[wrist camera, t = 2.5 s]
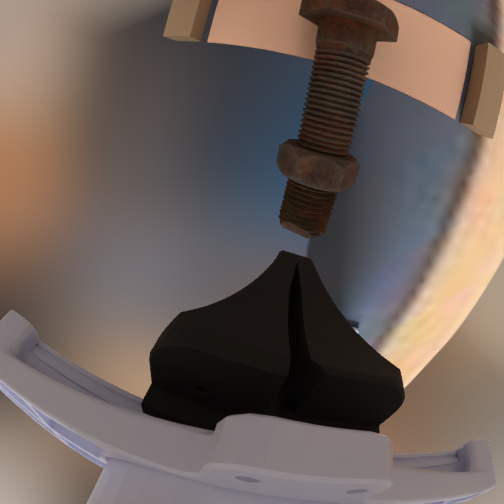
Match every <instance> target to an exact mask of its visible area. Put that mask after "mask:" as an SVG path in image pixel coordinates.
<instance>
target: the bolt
mask: <svg viewBox="0 0 504 504" xmlns="http://www.w3.org/2000/svg"><path fill="white" fill-rule="evenodd" d="M299 15H300V16H302V17H303V18H305V19H307V20H308V21H310V22H312V23H313V24H315V25H317V26H318V30H317V36H316V41H315V42H316V49H317V50H315V53H316V54H317V55H315V56H314V58H315V59H316V60H314V61H313V63H314V64H315V65H313V66H312V68H313V69H314V71H311V73H312V74H313V76H311V77H310V79H311V80H312V82H309V83H308V84H309V85H310V86H311V87H308V88H307V89H308V90H309V91H310V92H308V93H306V94H307V95H308V96H309V97H307V98H305V99H306V100H307V101H308V102H307V103H304V104H305V106H306V107H307V108H303V110H304V111H305V112H306V113H304V114H302V116H303V117H304V118H303V119H301V121H302V122H303V124H301V125H300V126H301V128H302V129H301V130H299V132H300V133H301V134H299V135H298V138H299V139H289V140H287V141H286V142H284V143H283V144H281V145H280V146H279V151H278V156H277V161H276V162H277V165H278V167H279V169H280V171H281V172H282V174H283V175H285V176H286V177H287V178H288V179H289V181H287V186H286V190H285V195H284V200H283V201H282V206H281V208H282V209H281V210H280V215H279V218H280V223H281V225H282V226H283V227H284V228H286V229H288V230H290V231H292V232H294V233H297V234H299V235H301V236H303V237H305V238H314V237H317V236H320V235H321V234H323V233H325V230H326V227H327V223H328V220H329V216H330V214H331V210H332V206H333V205H334V200H335V199H336V198H335V196H336V195H337V192H344V191H346V190H347V189H349V188H350V187H351V186H352V185H353V184H354V183H355V181H356V177H357V174H358V171H359V167H360V166H359V164H358V163H357V161H356V159H355V158H354V157H353V156H351V155H349V152H348V151H347V150H348V149H350V146H349V145H348V144H351V143H352V142H351V140H350V139H351V138H353V136H352V135H351V134H352V133H354V130H353V129H352V128H355V127H356V126H355V124H354V123H355V122H357V120H356V119H355V117H358V116H359V115H358V114H357V113H356V112H359V111H360V110H359V109H358V108H357V107H359V106H361V104H360V103H359V102H360V101H362V99H361V98H360V96H363V93H362V92H361V91H364V90H365V89H364V88H363V87H362V86H364V85H366V83H365V82H364V81H365V80H367V77H365V76H366V75H368V74H369V73H368V72H367V70H369V69H370V68H369V67H368V65H370V64H371V60H372V58H373V57H374V53H375V48H376V43H377V42H397V38H398V32H399V25H398V21H397V18H396V16H395V14H394V12H393V11H392V10H391V9H389V8H388V7H386V6H385V5H384V4H382V3H381V2H379V1H377V0H302V1H301V6H300V10H299Z"/></svg>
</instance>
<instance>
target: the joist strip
mask: <svg viewBox="0 0 504 504" xmlns="http://www.w3.org/2000/svg"><path fill="white" fill-rule="evenodd" d="M212 1H213V0H173V2H172V6H171V9H170V12H169V16H168V19H167V23H166V27H165V31H164V34H163V36H165V37H168V38H171V39H173V40H176V41H196V42H201V40H202V37H203V33H204V29H205V25H206V21H207V18H208V14H209V11H210V8H211V4H212ZM301 1H302V0H219V1H218V5H217V8H216V12H215V15H214V18H213V22H212V26H211V29H210V33H209V37H208V41H207V42H211V43H222V44H231V45H239V46H246V47H252V48H259V49H265V50H270V51H275V52H280V53H285V54H289V55H294V56H298V57H302V58H306V59H310V60H316V59H315V58H314V56H315V55H317V54H316V53H315V50H317V49H316V42H315V41H316V36H317V30H318V26H317V25H315V24H313V23H312V22H310V21H308V20H307V19H305V18H303V17H302V16H300V15H299V10H300V6H301ZM377 1H379V2H381V3H382V4H384V5H385V6H386V7H388V8H389V9H391V10H392V11H393V12H394V14H395V16H396V18H397V21H398V25H399V32H398V38H397V42H377V43H376V48H375V53H374V57H373V58H372V60H371V64H370V65H368V67H369V68H370V69H369V70H367V72H368V73H369V74H368V75H366V76H365V77H367V78H369V79H372V80H374V81H377V82H379V83H382V84H384V85H387V86H389V87H392V88H394V89H396V90H398V91H401V92H403V93H405V94H407V95H409V96H411V97H413V98H416V99H418V100H420V101H422V102H424V103H426V104H427V105H429V106H431V107H433V108H435V109H437V110H439V111H441V112H442V113H444V114H446V115H448V116H449V117H451V118H453V119H455V118H456V114H457V110H458V106H459V102H460V98H461V94H462V89H463V85H464V80H465V75H466V70H467V64H468V58H469V52H470V44H471V41H469V40H468V39H466V38H464V37H463V36H461V35H460V34H458V33H456V32H455V31H453V30H452V29H450V28H448V27H446V26H445V25H443V24H441V23H439V22H438V21H436V20H434V19H432V18H430V17H428V16H426V15H424V14H422V13H420V12H418V11H416V10H414V9H412V8H410V7H408V6H405V5H403V4H401V3H398V2H396V1H394V0H377ZM503 91H504V54H503V53H502V52H501V51H500V50H498V49H497V48H496V47H494V46H493V45H492V44H490V43H489V42H487V43H483V44H479V45H475V52H474V58H473V65H472V70H471V76H470V81H469V86H468V90H467V95H466V99H465V103H464V107H463V111H462V115H461V119H460V123H461V124H463V125H464V126H466V127H468V128H469V129H471V130H472V131H474V132H475V133H477V134H478V135H481V136H485V137H488V138H492V139H493V135H494V131H495V128H496V124H497V120H498V115H499V111H500V106H501V102H502V96H503Z"/></svg>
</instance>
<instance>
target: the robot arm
mask: <svg viewBox="0 0 504 504" xmlns="http://www.w3.org/2000/svg"><path fill="white" fill-rule="evenodd" d="M149 362H150V371H151V380H152V384H151V386H150V388H149V390H148V391H147V393H146V395H145V397H144V399H142V398H140V397H137V396H135V395H133V394H131V393H129V392H127V391H125V390H123V389H121V388H119V387H117V386H114V385H113V384H111V383H109V382H107V381H105V380H103V379H101V378H99V377H97V376H95V375H94V374H92V373H90V372H88V371H87V370H85V369H83V368H82V367H80V366H78V365H76V364H75V363H73V362H71V361H70V360H68V359H67V358H65V357H63V356H62V355H60V354H59V353H57V352H56V351H54V350H53V349H51V348H50V347H48V346H47V345H45V344H44V343H42V342H41V341H40V340H39V338H38V335H37V332H36V330H35V329H34V327H33V326H32V325H31V324H30V323H29V322H28V321H27V320H26V319H24V318H23V317H22V316H20V315H19V314H18V313H16V312H15V311H14V310H10V311H9V312H8V313H7V314H6V315H5V316H4V318H3V319H2V320H1V321H0V389H1V391H2V392H3V393H4V394H5V395H7V396H8V397H9V398H10V399H11V400H12V401H13V402H14V403H15V404H16V405H17V406H19V407H20V408H21V409H22V410H23V411H24V412H25V413H27V414H28V415H29V416H30V417H31V418H33V419H34V420H35V421H36V422H37V423H39V424H40V425H41V426H42V427H43V428H45V429H46V430H47V431H49V432H50V433H51V434H53V435H54V436H55V437H57V438H58V439H60V440H61V441H62V442H63V443H65V444H66V445H68V446H69V447H71V448H72V449H74V450H75V451H76V452H78V453H80V454H81V455H83V456H84V457H86V458H87V459H89V460H91V461H92V462H94V463H96V464H97V465H99V466H101V467H102V468H104V469H103V472H102V474H101V476H100V478H99V480H98V482H97V484H96V486H95V488H94V490H93V492H92V494H91V496H90V498H89V500H88V502H87V504H460V503H463V502H465V501H467V500H469V499H472V498H473V497H476V496H478V495H480V494H482V493H484V492H486V491H488V490H490V489H492V488H494V487H495V486H496V479H495V471H494V464H493V458H492V452H491V447H490V442H489V439H488V438H484V439H477V440H473V441H470V442H468V443H466V444H465V445H463V446H461V447H460V448H459V449H458V450H453V451H444V452H433V453H417V454H393V453H392V443H391V441H390V439H389V437H387V436H386V435H382V434H379V425H380V424H381V423H383V422H384V421H385V420H386V419H388V418H389V417H390V416H391V415H392V414H393V413H395V412H396V411H397V410H398V409H399V407H400V406H401V405H402V403H403V401H404V398H405V394H404V387H403V381H402V376H401V372H400V369H399V368H397V367H396V366H395V365H393V364H392V363H391V362H389V361H388V360H387V359H385V358H384V357H383V356H381V355H380V354H379V353H378V352H377V351H376V350H374V349H373V348H372V347H371V346H370V345H369V344H368V343H367V342H366V341H365V340H364V339H363V338H362V337H361V336H360V335H359V331H358V329H357V328H356V327H352V326H351V325H350V324H349V323H348V322H347V320H346V319H345V318H344V316H343V315H342V314H341V312H340V311H339V310H338V308H337V307H336V305H335V304H334V302H333V301H332V299H331V297H330V296H329V294H328V292H327V291H326V289H325V287H324V285H323V283H322V281H321V279H320V277H319V275H318V273H317V271H316V269H315V266H314V264H313V262H312V260H311V259H310V258H306V257H303V256H300V255H296V254H293V253H290V252H286V251H280V252H279V254H278V256H277V258H276V259H275V260H274V262H273V263H272V264H271V265H270V266H269V268H267V270H266V271H265V272H264V273H262V274H261V275H260V276H259V277H258V278H257V279H255V280H254V281H253V282H252V283H250V284H249V285H248V286H246V287H245V288H243V289H242V290H240V291H238V292H236V293H235V294H233V295H231V296H230V297H227V298H225V299H223V300H221V301H218V302H216V303H213V304H211V305H208V306H205V307H201V308H197V309H194V310H189V311H185V312H181V313H180V314H178V315H177V317H175V319H174V320H173V321H172V322H171V323H170V324H169V325H168V326H167V327H166V329H165V330H164V331H163V332H162V334H161V335H160V337H159V338H158V340H157V342H156V343H155V345H154V347H153V349H152V350H151V352H150V358H149Z"/></svg>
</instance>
